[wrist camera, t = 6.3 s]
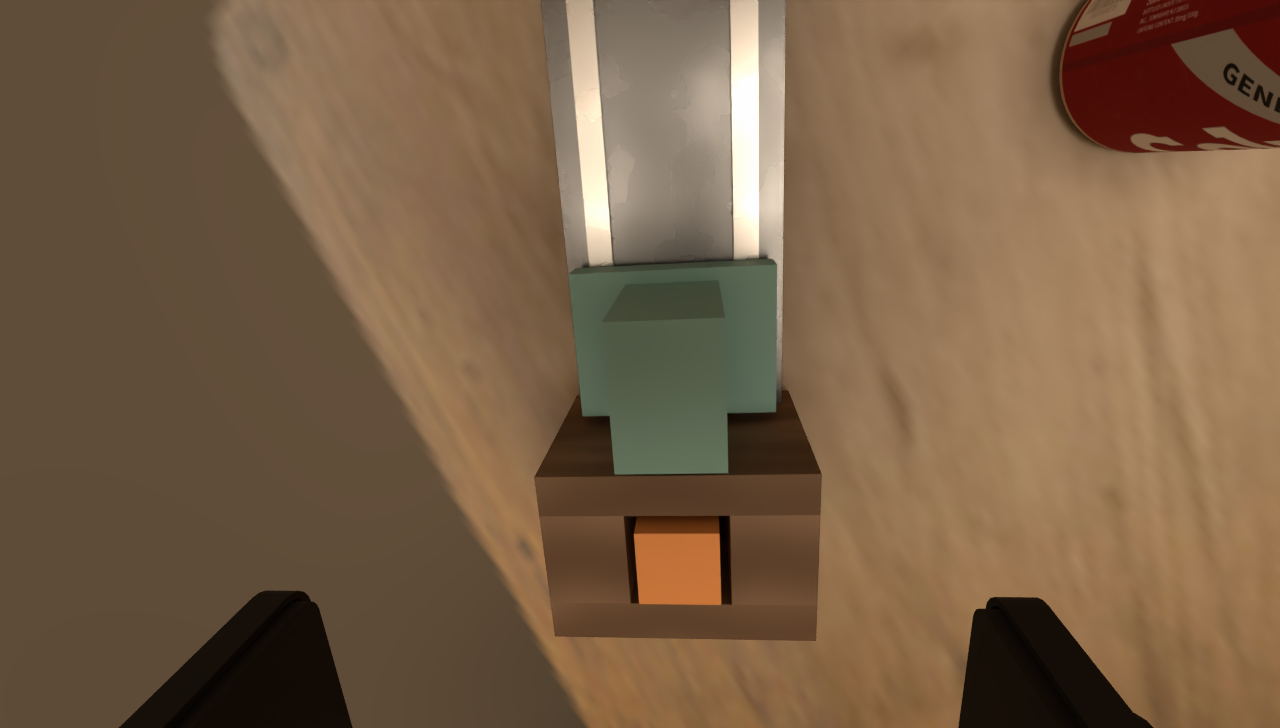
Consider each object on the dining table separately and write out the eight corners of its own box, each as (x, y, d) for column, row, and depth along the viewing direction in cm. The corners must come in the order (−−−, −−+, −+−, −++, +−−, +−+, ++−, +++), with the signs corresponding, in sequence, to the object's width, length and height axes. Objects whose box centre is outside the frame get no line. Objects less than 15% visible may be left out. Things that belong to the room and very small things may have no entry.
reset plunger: (650, 437, 29) (633, 533, 21) (713, 435, 28) (719, 533, 21) (654, 492, 30) (639, 603, 22) (715, 491, 29) (721, 604, 22)
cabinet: (577, 396, 29) (534, 477, 21) (788, 390, 28) (821, 473, 20) (589, 522, 31) (554, 636, 24) (786, 521, 30) (816, 640, 23)
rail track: (536, -127, 23) (524, -151, 21) (781, -157, 22) (788, -184, 20) (587, 396, 29) (580, 410, 27) (777, 391, 28) (782, 405, 26)
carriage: (575, 268, 25) (526, 309, 18) (772, 258, 24) (803, 297, 17) (588, 403, 27) (548, 488, 20) (771, 398, 26) (799, 486, 19)
